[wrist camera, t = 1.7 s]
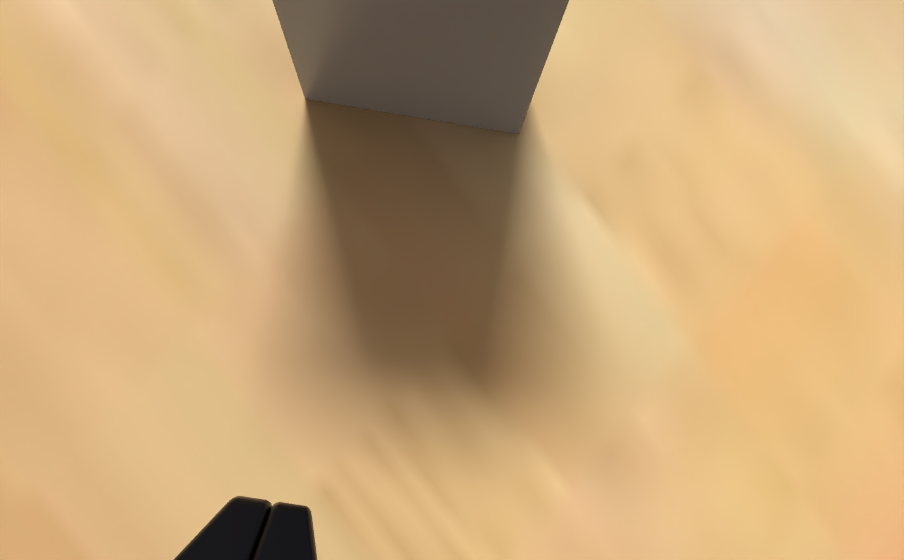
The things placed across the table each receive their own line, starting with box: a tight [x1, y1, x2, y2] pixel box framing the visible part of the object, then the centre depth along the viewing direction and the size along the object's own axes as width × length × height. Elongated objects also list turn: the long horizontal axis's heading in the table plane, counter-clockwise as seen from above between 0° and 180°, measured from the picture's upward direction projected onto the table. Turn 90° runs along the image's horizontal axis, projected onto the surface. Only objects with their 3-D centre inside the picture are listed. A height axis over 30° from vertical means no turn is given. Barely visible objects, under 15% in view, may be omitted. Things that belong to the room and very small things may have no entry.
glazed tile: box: [273, 0, 569, 134], centre depth 19 cm, size 2×6×8 cm, turn 81°
